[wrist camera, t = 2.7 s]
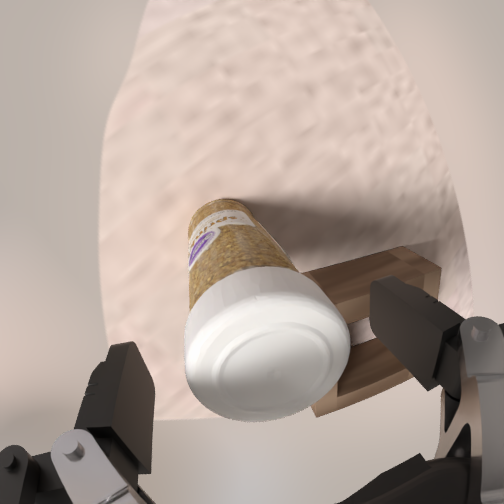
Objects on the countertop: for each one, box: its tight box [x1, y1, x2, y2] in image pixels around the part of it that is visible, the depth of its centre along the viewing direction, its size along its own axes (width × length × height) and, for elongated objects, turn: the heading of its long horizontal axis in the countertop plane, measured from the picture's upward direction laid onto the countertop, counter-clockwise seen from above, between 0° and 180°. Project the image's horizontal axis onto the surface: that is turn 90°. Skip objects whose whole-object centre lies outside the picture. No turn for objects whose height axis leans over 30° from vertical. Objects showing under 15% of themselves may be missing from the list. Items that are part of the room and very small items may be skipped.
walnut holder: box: [301, 246, 441, 417], centre depth 22 cm, size 10×10×5 cm
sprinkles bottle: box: [184, 199, 351, 422], centre depth 13 cm, size 5×5×14 cm
